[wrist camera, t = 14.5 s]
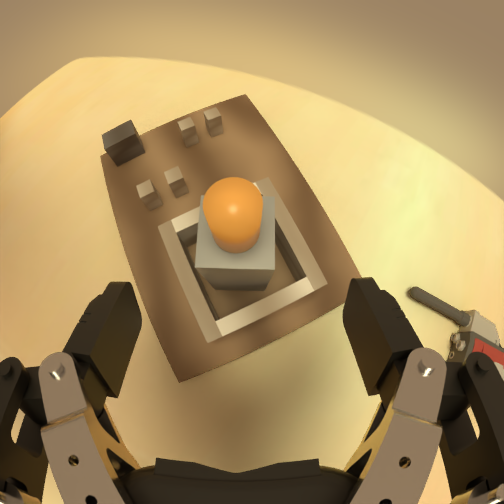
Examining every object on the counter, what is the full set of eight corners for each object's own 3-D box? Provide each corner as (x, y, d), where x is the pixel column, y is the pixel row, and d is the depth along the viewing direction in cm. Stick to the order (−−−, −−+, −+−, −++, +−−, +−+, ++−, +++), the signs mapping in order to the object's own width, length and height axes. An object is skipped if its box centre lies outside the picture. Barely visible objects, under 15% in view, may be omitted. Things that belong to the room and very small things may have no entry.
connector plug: (215, 289, 20) (179, 249, 9) (217, 242, 21) (189, 162, 10) (264, 291, 20) (282, 252, 10) (265, 243, 21) (281, 163, 10)
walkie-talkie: (513, 343, 20) (406, 281, 22) (537, 341, 16) (434, 271, 18) (491, 411, 18) (372, 374, 20) (515, 416, 14) (397, 382, 16)
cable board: (182, 379, 19) (165, 393, 15) (105, 162, 24) (85, 136, 20) (361, 290, 21) (387, 281, 17) (245, 101, 26) (245, 69, 22)
